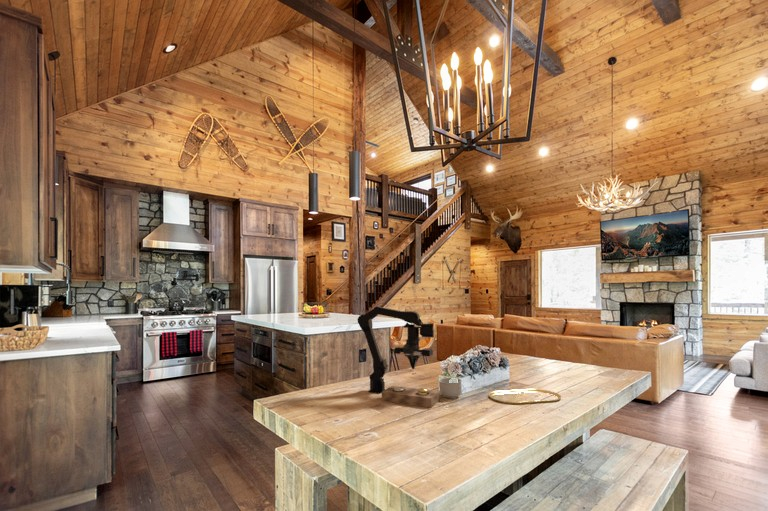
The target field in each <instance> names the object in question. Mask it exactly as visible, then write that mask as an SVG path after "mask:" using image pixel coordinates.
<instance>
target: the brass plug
mask: <svg viewBox="0 0 768 511" xmlns="http://www.w3.org/2000/svg"><path fill="white" fill-rule="evenodd" d="M417 389H418V392H419V395H427V392H428V390H429V388H427V387H418V388H417Z"/></svg>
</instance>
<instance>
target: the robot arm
mask: <svg viewBox="0 0 768 511" xmlns="http://www.w3.org/2000/svg"><path fill="white" fill-rule="evenodd" d="M378 316H385V317H390V318H394V319H398V320H399V319H400V320H402V321H404V322H406V323H405V324H404V325H403V328H405V329H407V335H406V336H407V338H406V342H405V344H404V345H403V346H401V345H400V346H396V347H394V348H393V354H395V355H396V354H399V355H400V354H401V353H403V354H404V356H405V357H406V358H407V359H408V361H409V364H410V366H411V368H412V370H414V369H415V368H416V366H417V362H418V361H419V359H420V357H431V356H433V354H434V350H433V349H432V348H423V349H421V347H420V341H421V338H420V336H421V337H422V338H429V339H430V338H434V337H435V328H434V323H424V322H423V321H422V319H421V318H420V313H419V312H418V311H415V310H405V311H404V310H396V309H392V308H389V307H382V306H379V305H378V306H374V308H372V309H371V310H370V311H367V312H366V313H363V314H360V315H359V316H358V318H357V324H358V325H359V327H360V329H361V330H362V332H363V333H364V335H365V336H364V337H365V339H366V342H367V345H368V349H369V352H370V355H371V357H372V358H371V359H372V370H373V372H372V373H371V374H370V375H369V376H368V377H369V390H368V392H369V393H375V394H382V391H384V390H386V389H385V385H386V384H385V381H384V380H385V378H384V376H385V375H386V374H387V373H388V370H389V365H388V363H387V358H383V357H382V355H381V352H380V350H379V346H378V343H377V340H376V337H375V335H374V331H373V320H374V319H375V318H376V317H378Z"/></svg>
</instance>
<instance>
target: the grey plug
mask: <svg viewBox="0 0 768 511" xmlns="http://www.w3.org/2000/svg"><path fill="white" fill-rule="evenodd" d="M400 387H401V386H398V387H397V388H394V391H396V392H403V391H404V388H400Z"/></svg>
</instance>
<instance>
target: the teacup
mask: <svg viewBox="0 0 768 511" xmlns="http://www.w3.org/2000/svg"><path fill="white" fill-rule="evenodd" d="M451 378H452V376H451V377H450V376H449V377H447V376H443V377H442V378H440V379H439V380H438V384H439V385H438V386H439V392H440V394H441V395H442V397H444V398H446V399H456V398H458V397H459V396H460V395H461V394H462V390H463V386H462V379H461V378H459V377H456V378H457V379H458V383H449V380H450V379H451Z"/></svg>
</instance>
